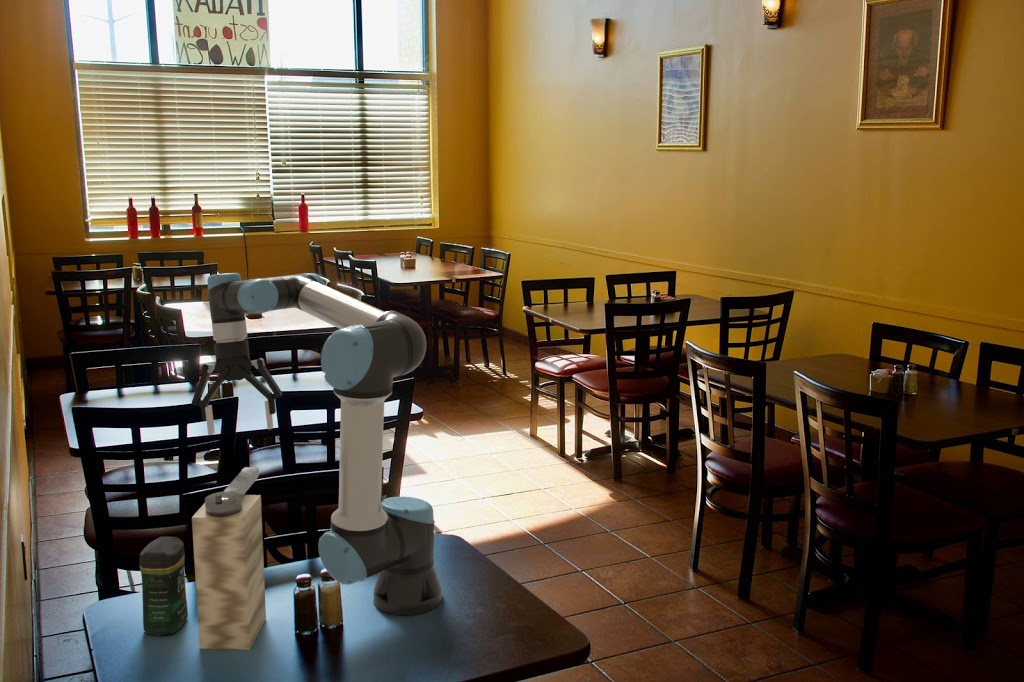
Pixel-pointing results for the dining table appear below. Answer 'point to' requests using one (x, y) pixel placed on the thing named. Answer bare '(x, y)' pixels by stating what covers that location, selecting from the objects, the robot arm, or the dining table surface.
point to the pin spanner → (231, 494)
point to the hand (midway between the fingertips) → (241, 431)
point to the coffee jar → (163, 586)
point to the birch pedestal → (229, 576)
